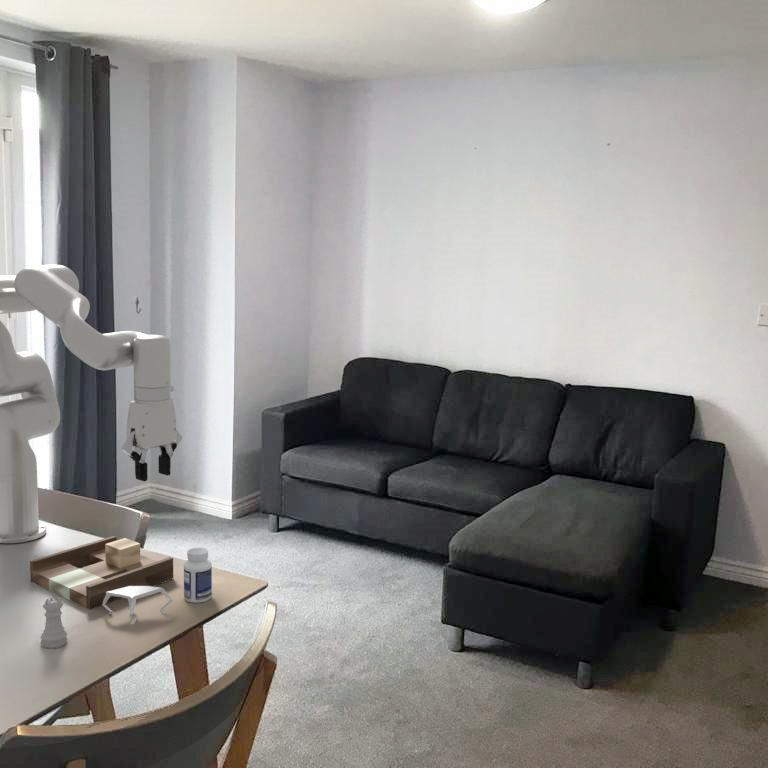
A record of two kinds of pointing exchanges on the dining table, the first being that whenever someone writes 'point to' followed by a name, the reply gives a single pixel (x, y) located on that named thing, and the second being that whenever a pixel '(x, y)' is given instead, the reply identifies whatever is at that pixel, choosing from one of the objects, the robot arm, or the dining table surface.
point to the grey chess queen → (53, 625)
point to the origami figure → (135, 597)
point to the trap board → (94, 573)
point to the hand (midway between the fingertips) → (153, 476)
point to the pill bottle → (197, 576)
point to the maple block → (122, 552)
